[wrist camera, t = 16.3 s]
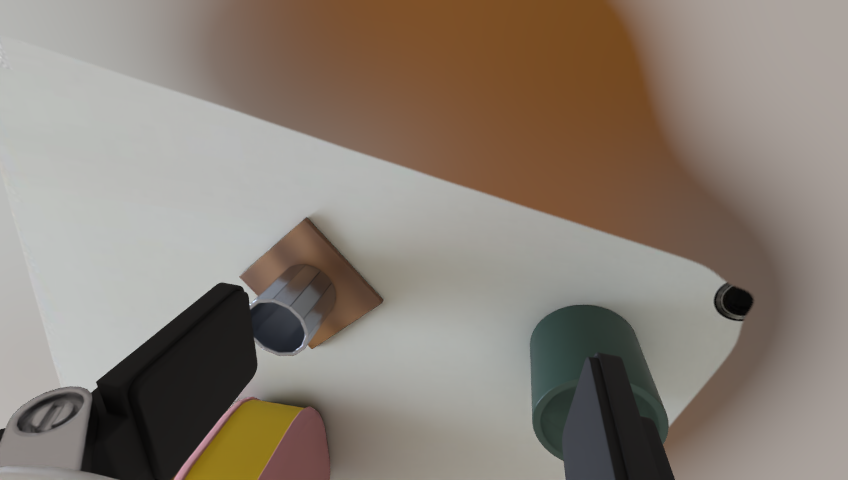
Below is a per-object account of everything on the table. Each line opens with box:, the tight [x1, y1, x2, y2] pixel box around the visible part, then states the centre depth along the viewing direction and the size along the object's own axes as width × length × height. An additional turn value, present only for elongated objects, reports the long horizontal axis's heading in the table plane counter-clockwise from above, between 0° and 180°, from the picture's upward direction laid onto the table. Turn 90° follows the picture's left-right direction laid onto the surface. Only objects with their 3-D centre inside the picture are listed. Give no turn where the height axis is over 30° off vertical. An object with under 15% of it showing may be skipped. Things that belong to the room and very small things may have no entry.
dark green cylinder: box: [530, 305, 669, 461], centre depth 39 cm, size 10×10×10 cm
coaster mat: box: [239, 218, 383, 349], centre depth 47 cm, size 12×12×1 cm
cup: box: [250, 264, 336, 356], centre depth 44 cm, size 7×7×7 cm
